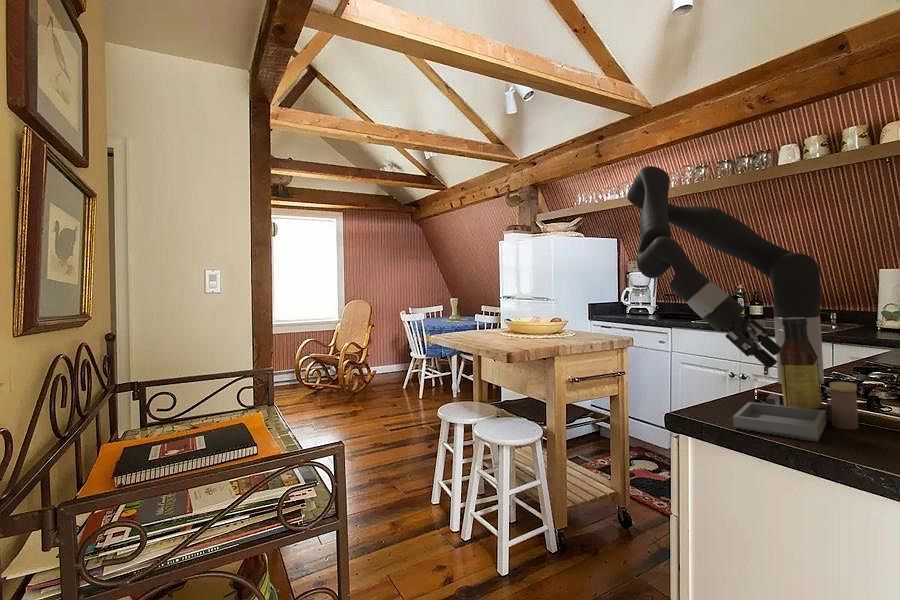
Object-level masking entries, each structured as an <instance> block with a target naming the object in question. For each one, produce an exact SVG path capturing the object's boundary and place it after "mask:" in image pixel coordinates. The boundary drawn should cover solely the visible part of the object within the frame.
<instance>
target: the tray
mask: <svg viewBox="0 0 900 600" xmlns="http://www.w3.org/2000/svg"><path fill="white" fill-rule="evenodd" d="M732 423H733V424H732V425H733V428H734V427H736V428H742V429H748V430H752V431H758V432H763V433H769V434H774V435H773V436H775V435H780V436H779V437H782V436H785V437H784V438H789V437H791V439H795V438H796V440H803V441H809V442H817V443H818V442H819V439H820V438H821V436H822V434H823V433H824V429H825V427H826V425H827V423H828V422H827V410H824V409H822V410H816V409H807V408H798V407H789V406H784V405H781V404H780V405H771V404H767V403H761V402H752V401H748V402H747V403H746V404H745V405H743V406H742V407H741V408H740V409H739V410H738V411H737V412H736V413H735V414H733V416H732ZM769 434H768V435H769Z"/></svg>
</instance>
